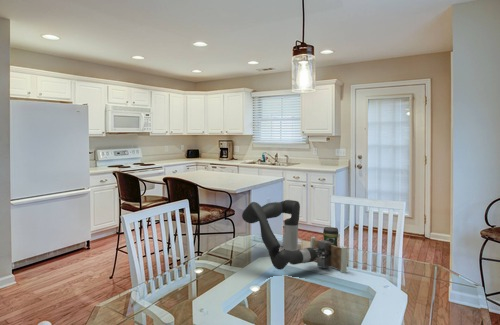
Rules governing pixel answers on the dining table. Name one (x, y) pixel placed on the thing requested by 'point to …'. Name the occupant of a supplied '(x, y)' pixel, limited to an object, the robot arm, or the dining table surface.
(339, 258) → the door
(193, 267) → the dining table surface
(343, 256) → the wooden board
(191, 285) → the dining table surface
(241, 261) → the dining table surface
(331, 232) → the coffee jar
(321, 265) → the iron block
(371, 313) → the dining table surface
